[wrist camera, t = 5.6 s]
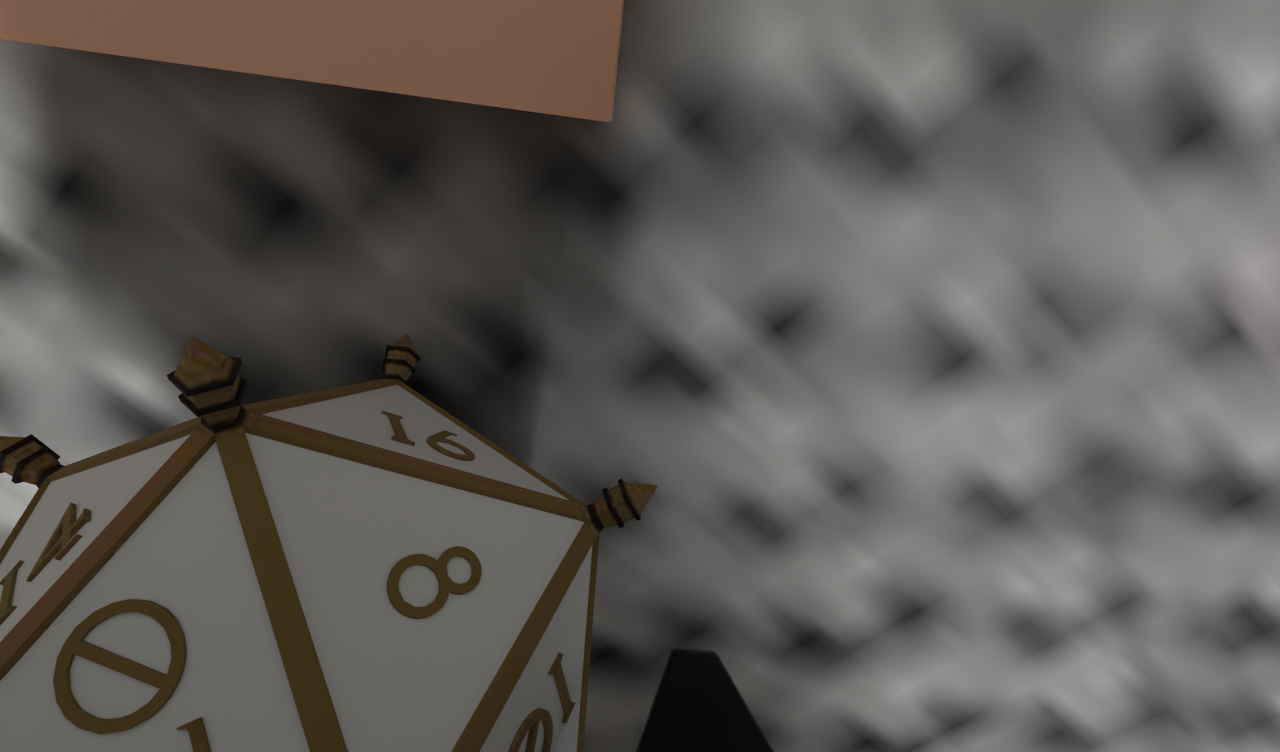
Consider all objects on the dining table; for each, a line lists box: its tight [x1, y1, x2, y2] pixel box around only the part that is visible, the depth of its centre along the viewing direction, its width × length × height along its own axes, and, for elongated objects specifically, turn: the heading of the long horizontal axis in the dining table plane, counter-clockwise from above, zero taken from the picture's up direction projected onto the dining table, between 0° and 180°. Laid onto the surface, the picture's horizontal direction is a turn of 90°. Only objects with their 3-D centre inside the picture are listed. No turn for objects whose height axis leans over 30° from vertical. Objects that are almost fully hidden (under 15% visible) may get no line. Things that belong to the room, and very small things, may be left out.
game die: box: [0, 335, 657, 752], centre depth 8 cm, size 9×8×10 cm
